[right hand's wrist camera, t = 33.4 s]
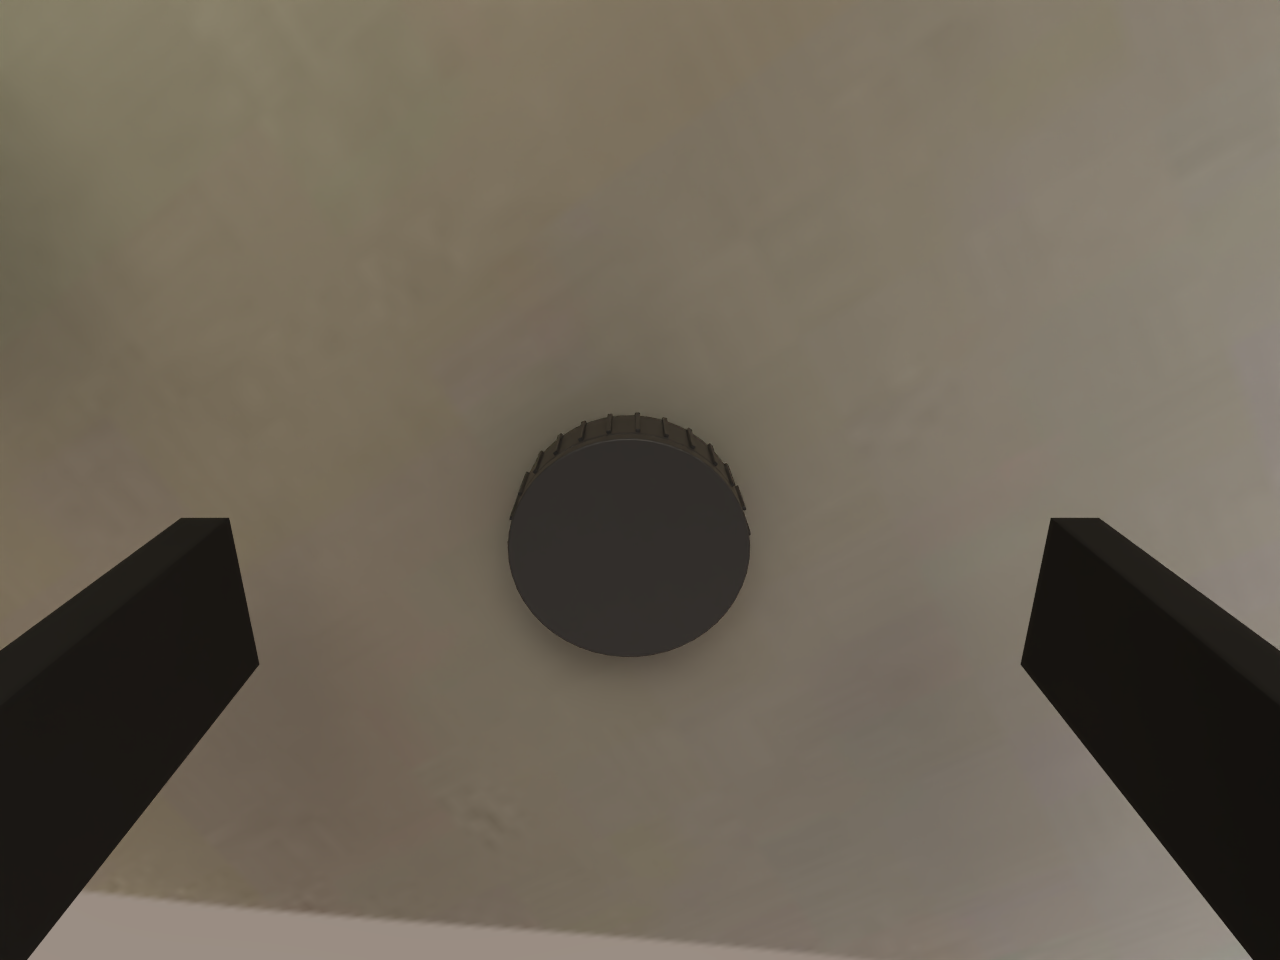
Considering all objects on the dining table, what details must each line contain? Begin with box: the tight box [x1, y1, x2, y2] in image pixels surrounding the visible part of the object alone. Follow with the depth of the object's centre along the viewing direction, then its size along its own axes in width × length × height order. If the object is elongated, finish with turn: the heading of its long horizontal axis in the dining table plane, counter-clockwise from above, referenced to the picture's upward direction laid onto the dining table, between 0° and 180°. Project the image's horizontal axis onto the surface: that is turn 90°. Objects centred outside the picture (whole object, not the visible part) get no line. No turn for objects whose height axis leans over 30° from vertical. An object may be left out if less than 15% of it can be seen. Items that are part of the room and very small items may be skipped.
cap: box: [508, 413, 750, 657], centre depth 15 cm, size 5×5×2 cm
